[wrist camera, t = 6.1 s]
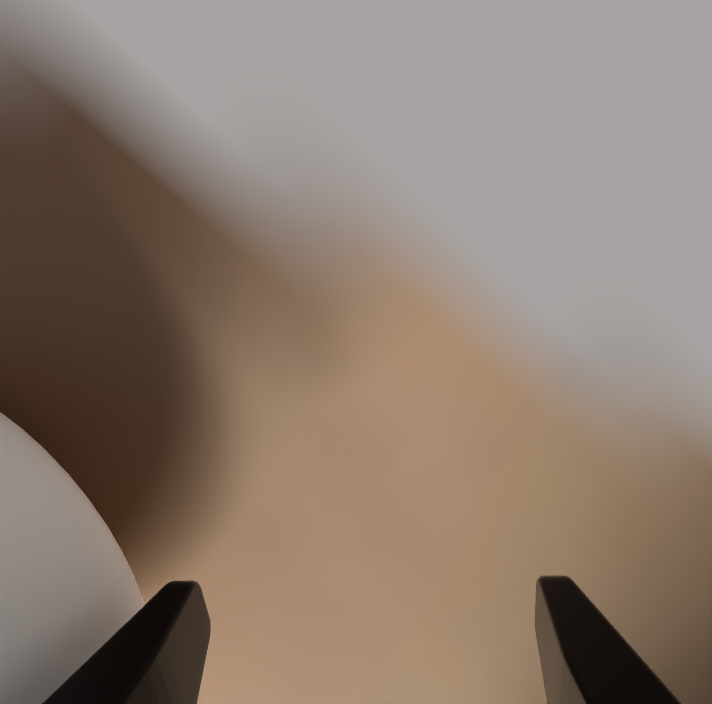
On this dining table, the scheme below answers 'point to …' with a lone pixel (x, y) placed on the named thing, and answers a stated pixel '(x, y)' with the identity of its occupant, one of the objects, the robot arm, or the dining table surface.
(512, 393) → the dining table surface
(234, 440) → the dining table surface
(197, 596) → the robot arm
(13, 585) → the mug
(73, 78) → the dining table surface
